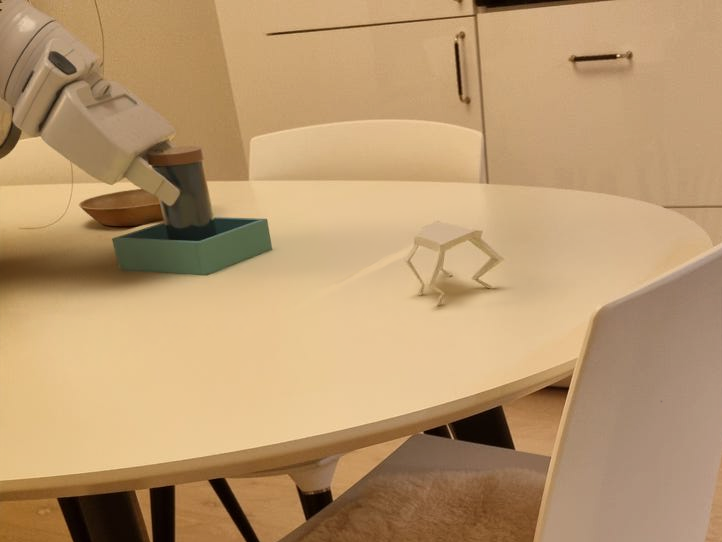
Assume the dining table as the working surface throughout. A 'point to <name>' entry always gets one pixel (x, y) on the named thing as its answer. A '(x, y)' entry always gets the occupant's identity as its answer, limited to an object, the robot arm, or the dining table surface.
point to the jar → (185, 193)
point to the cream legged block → (445, 238)
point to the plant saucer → (124, 208)
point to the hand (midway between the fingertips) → (188, 190)
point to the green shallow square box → (193, 248)
